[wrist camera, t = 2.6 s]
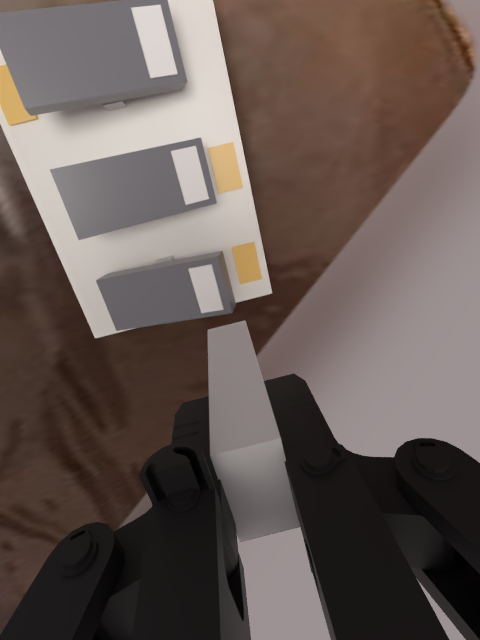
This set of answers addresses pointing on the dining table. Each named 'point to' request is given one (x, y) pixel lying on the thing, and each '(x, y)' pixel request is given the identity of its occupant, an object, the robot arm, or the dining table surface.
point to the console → (138, 134)
